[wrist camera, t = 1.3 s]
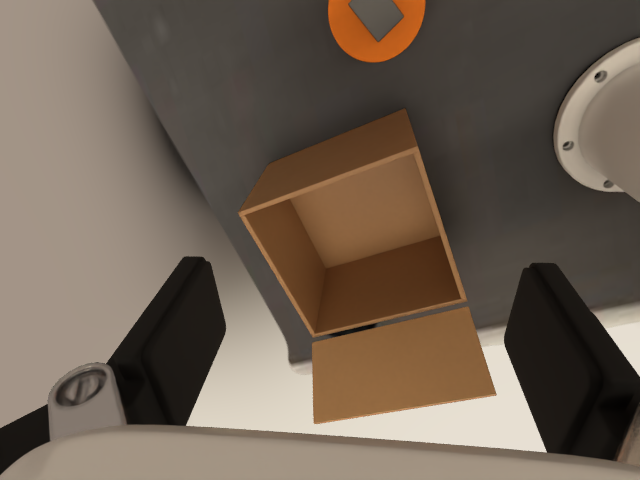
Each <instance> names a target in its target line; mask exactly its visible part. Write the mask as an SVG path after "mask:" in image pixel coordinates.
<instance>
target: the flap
mask: <svg viewBox="0 0 640 480" xmlns="http://www.w3.org/2000/svg"><path fill="white" fill-rule="evenodd" d="M312 365H313V415H314V424H320V423H326V422H332V421H338V420H345V419H351V418H358V417H364V416H370V415H376V414H383V413H389V412H395V411H402V410H408V409H414V408H420V407H427V406H433V405H439V404H445V403H452V402H458V401H465V400H471V399H477V398H483V397H490V396H496V392H495V388H494V385H493V382H492V379H491V376H490V373H489V370H488V367H487V363H486V360H485V357H484V354H483V351H482V348H481V345H480V341H479V338H478V335H477V332H476V329H475V326H474V323H473V320H472V316H471V313H470V310H469V307H464V308H460V309H455V310H451V311H447V312H442V313H438V314H434V315H429V316H425V317H421V318H416V319H412V320H408V321H403V322H399V323H395V324H390V325H386V326H382V327H378V328H373V329H369V330H365V331H360V332H356V333H352V334H347V335H343V336H339V337H334V338H330V339H326V340H321V341H317V342H313V343H312Z"/></svg>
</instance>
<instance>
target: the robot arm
mask: <svg viewBox="0 0 640 480" xmlns="http://www.w3.org/2000/svg"><path fill="white" fill-rule="evenodd" d="M597 73H598V76H597V77H595V75H596V74H597ZM594 77H595V78H594ZM553 140H554V150H555V153H556V156H557V159H558V161H559V162H560V164H561V166H562V167H563V169H564V170H565V171H566V172H567V173H568V174H569V175H570V176H571V177H572V178H574V179H575V180H577V181H578V182H579V183H581V184H582V185H585V186H587V187H590V188H592V189H595V190H600V191H605V192H626V193H627V194H629V195H630V196H631V197H633V198H634V199H635V200H637V201H638V202H639V203H640V37H639V38H637V39H634V40H632V41H629V42H626V43H624V44H623V45H621V46H619V47H617V48H616V49H614V50H612V51H610V52H608V53H607V54H606V55H604V56H603V57H602V58H600V59H599V60H598V61H597V62H595V63H594V64H593V65H591V66H590V68H589V69H588V70H587V71H586V72H585V73H584V74H583V75H582V76H581V77H580V78H579V79H578V80H577V81H576V83H575V84H574V85H573V87H572V88H571V89H570V91H569V92H568V93H567V95H566V97H565V99H564V101H563V103H562V105H561V107H560V109H559V112H558V115H557V118H556V121H555V126H554V134H553ZM565 142H567V143H566V144H565V145H563V144H564V143H565ZM225 332H226V323H225V319H224V315H223V311H222V307H221V303H220V299H219V295H218V291H217V287H216V283H215V278H214V275H213V270H212V266H211V263H210V262H208V261H206V260H205V259H204V258H203V257H184V258H183V259H182V260H181V261H180V263H179V264H178V266H177V267H176V268H175V269H174V271H173V272H172V274H171V275H170V276H169V278H168V279H167V281H166V282H165V283H164V285H163V286H162V288H161V289H160V290H159V292H158V293H157V294H156V296H155V297H154V299H153V300H152V301H151V303H150V304H149V305H148V307H147V308H146V309H145V311H144V312H143V314H142V315H141V316H140V318H139V319H138V321H137V322H136V323H135V325H134V326H133V327H132V329H131V330H130V331H129V333H128V334H127V336H126V337H125V338H124V340H123V341H122V342H121V344H120V345H119V347H118V348H117V349H116V351H115V352H114V354H113V355H112V356H111V358H110V359H109V360H108V362H107V363H106V364H105V363H98V362H96V363H89V364H86V365H83V366H79V367H77V368H75V369H74V370H72V371H70V372H68V373H67V374H66V375H64V376H63V377H62V378H60V379H59V381H58V382H57V383H56V384H55V385H54V386H53V388H52V389H51V391H50V393H49V397H48V404H47V405H45V406H43V407H41V408H39V409H37V410H35V411H33V412H31V413H29V414H27V415H25V416H23V417H21V418H20V419H17V420H16V421H14V422H12V423H10V424H8V425H6V426H4V427H2V428H0V480H640V377H639V375H638V374H637V372H636V371H635V370H634V368H633V367H632V366H631V364H630V363H629V362H628V360H627V359H626V357H625V356H624V355H623V353H622V352H621V350H620V349H619V348H618V346H617V345H616V343H615V342H614V341H613V339H612V338H611V337H610V335H609V334H608V333H607V331H606V330H605V328H604V327H603V326H602V324H601V323H600V321H599V320H598V319H597V317H596V316H595V315H594V314H593V313H592V312H590V310H589V309H588V307H587V306H586V305H585V303H584V302H583V300H582V299H581V298H580V296H579V295H578V293H577V292H576V291H575V289H574V288H573V286H572V285H571V284H570V282H569V281H568V280H567V278H566V277H565V275H564V274H563V273H562V271H561V270H560V268H559V267H558V266H557V265H556V264H554V263H532V264H531V265H530V266H529V268H524V269H523V271H522V275H521V278H520V282H519V285H518V289H517V292H516V296H515V299H514V303H513V306H512V310H511V314H510V317H509V321H508V324H507V328H506V331H505V335H504V343H505V347H506V350H507V353H508V355H509V358H510V360H511V363H512V365H513V368H514V370H515V373H516V375H517V378H518V380H519V383H520V385H521V388H522V390H523V393H524V396H525V398H526V401H527V403H528V406H529V408H530V410H531V413H532V416H533V418H534V421H535V423H536V426H537V428H538V431H539V433H540V436H541V438H542V441H543V443H544V446H545V448H546V451H547V453H544V452H534V451H522V450H512V449H500V448H488V447H475V446H463V445H450V444H436V443H424V442H411V441H398V440H385V439H371V438H358V437H343V436H330V435H316V434H302V433H287V432H273V431H258V430H243V429H229V428H214V427H194V426H186V424H187V421H188V419H189V417H190V415H191V412H192V410H193V408H194V405H195V403H196V401H197V398H198V396H199V394H200V391H201V389H202V386H203V384H204V382H205V380H206V377H207V375H208V372H209V370H210V368H211V366H212V363H213V361H214V358H215V356H216V354H217V351H218V349H219V347H220V345H221V342H222V340H223V338H224V335H225Z"/></svg>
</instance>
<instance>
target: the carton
mask: <svg viewBox="0 0 640 480" xmlns="http://www.w3.org/2000/svg"><path fill="white" fill-rule="evenodd" d="M238 214H239V216H240V217H241V219H242V221H243V222H244V224H245V226H246V227H247V229H248V230H249V232H250V234H251V235H252V237H253V239H254V240H255V242H256V244H257V245H258V247H259V249H260V250H261V252H262V254H263V255H264V257H265V259H266V260H267V262H268V264H269V265H270V267H271V269H272V270H273V272H274V274H275V275H276V277H277V279H278V280H279V282H280V284H281V285H282V287H283V288H284V290H285V292H286V293H287V295H288V297H289V298H290V300H291V302H292V303H293V305H294V307H295V308H296V310H297V312H298V313H299V315H300V317H301V318H302V320H303V322H304V323H305V325H306V327H307V328H308V330H309V332H310V333H311V335H312V337H318V336H322V335H326V334H330V333H335V332H339V331H343V330H347V329H352V328H356V327H360V326H364V325H369V324H373V323H377V322H381V321H385V320H390V319H394V318H398V317H402V316H407V315H411V314H415V313H419V312H424V311H428V310H432V309H436V308H441V307H445V306H449V305H453V304H458V303H462V302H466V301H467V299H466V295H465V292H464V289H463V286H462V283H461V280H460V277H459V274H458V270H457V267H456V264H455V261H454V258H453V255H452V252H451V249H450V245H449V242H448V239H447V236H446V233H445V230H444V227H443V224H442V220H441V217H440V214H439V211H438V208H437V205H436V202H435V199H434V195H433V192H432V189H431V186H430V183H429V180H428V177H427V174H426V170H425V167H424V164H423V161H422V158H421V155H420V152H419V149H418V145H417V142H416V139H415V136H414V133H413V130H412V127H411V124H410V121H409V118H408V114H407V111H406V108H404V109H402V110H400V111H397V112H395V113H392V114H390V115H387V116H385V117H382V118H380V119H377V120H375V121H372V122H370V123H367V124H365V125H363V126H360V127H358V128H355V129H353V130H350V131H348V132H345V133H343V134H340V135H338V136H335V137H333V138H331V139H328V140H326V141H323V142H321V143H318V144H316V145H313V146H311V147H308V148H306V149H303V150H301V151H299V152H296V153H294V154H291V155H289V156H286V157H284V158H281V159H279V160H276V161H274V162H271V163H269V164H268V166H267V167H266V169H265V171H264V172H263V174H262V175H261V177H260V178H259V180H258V182H257V183H256V185H255V186H254V188H253V189H252V191H251V193H250V194H249V196H248V197H247V199H246V201H245V202H244V204H243V205H242V207H241V208H240V210H239V212H238Z"/></svg>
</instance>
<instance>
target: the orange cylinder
mask: <svg viewBox="0 0 640 480" xmlns="http://www.w3.org/2000/svg"><path fill="white" fill-rule="evenodd" d="M424 12H425V0H329V5H328V17H329V23H330V27H331V31H332V33H333V36H334V38H335V39H336V41H337V43H338V44H339V45H340V47H341V48H342V49H343V50H344V51H345V52H346V53H348V54H349V55H350V56H352V57H354V58H356V59H358V60H361V61H364V62H382V61H386V60H389V59H391V58H393V57H395V56H397V55H398V54H400V53H401V52H402V51H404V50H405V49H406V48H407V47H408V46H409V45H410V44H411V42H412V41H413V39H414V38H415V36H416V35H417V33H418V31H419V29H420V27H421V24H422V21H423V17H424Z"/></svg>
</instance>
